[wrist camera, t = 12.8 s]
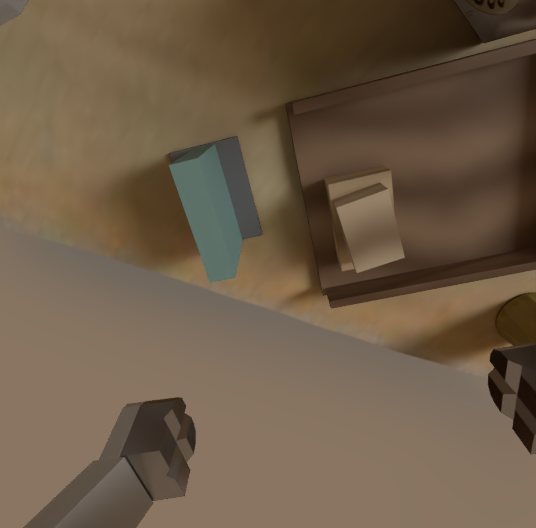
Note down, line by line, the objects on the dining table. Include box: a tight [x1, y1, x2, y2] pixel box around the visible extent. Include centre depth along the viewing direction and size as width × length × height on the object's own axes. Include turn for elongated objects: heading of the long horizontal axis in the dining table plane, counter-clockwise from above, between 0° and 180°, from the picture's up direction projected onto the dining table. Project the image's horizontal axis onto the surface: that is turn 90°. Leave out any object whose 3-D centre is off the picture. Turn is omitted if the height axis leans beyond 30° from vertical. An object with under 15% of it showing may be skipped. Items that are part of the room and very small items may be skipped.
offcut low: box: [324, 165, 395, 271], centre depth 30 cm, size 8×5×2 cm, turn 13°
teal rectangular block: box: [169, 144, 243, 283], centre depth 28 cm, size 9×2×8 cm, turn 13°
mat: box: [169, 136, 262, 239], centre depth 31 cm, size 9×6×1 cm, turn 13°
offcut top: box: [332, 182, 405, 273], centre depth 28 cm, size 6×4×2 cm, turn 21°
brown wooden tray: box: [286, 39, 536, 308], centre depth 29 cm, size 18×21×4 cm
